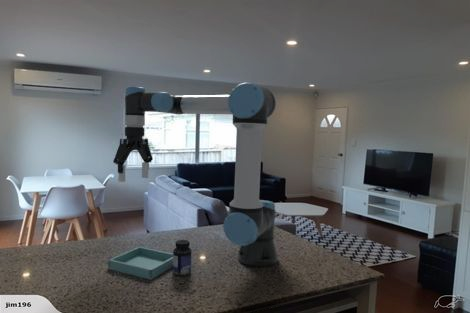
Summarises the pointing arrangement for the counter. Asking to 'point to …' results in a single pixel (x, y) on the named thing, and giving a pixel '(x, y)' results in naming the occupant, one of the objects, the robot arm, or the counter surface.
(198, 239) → the counter surface
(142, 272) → the tray
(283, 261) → the counter surface
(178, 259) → the pill bottle
